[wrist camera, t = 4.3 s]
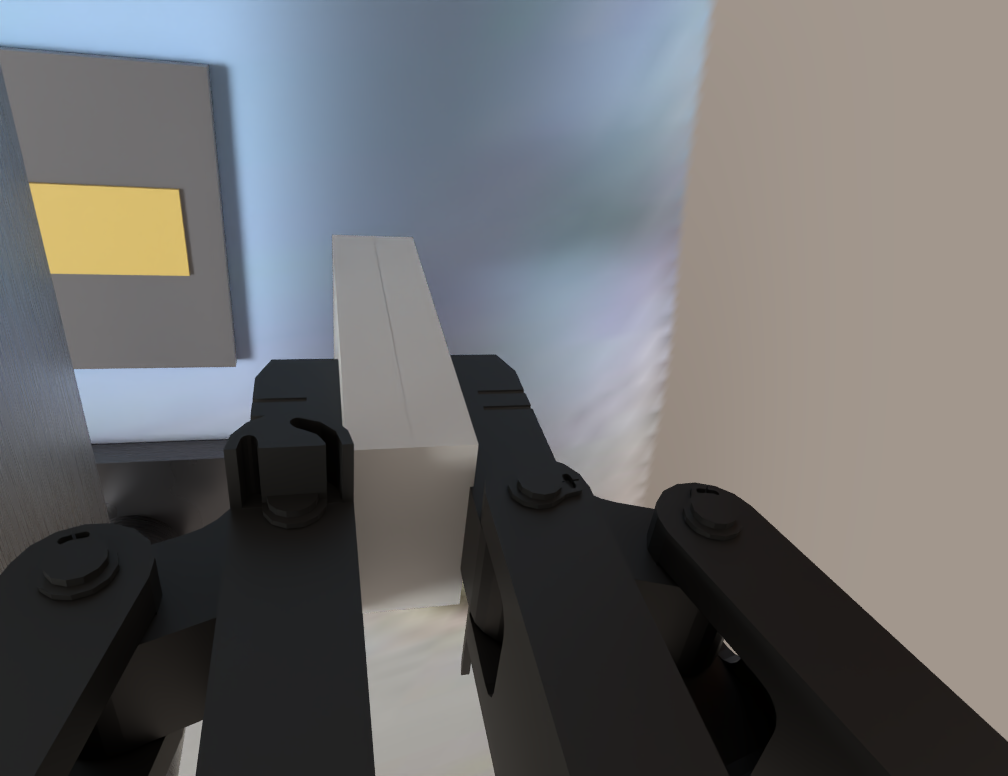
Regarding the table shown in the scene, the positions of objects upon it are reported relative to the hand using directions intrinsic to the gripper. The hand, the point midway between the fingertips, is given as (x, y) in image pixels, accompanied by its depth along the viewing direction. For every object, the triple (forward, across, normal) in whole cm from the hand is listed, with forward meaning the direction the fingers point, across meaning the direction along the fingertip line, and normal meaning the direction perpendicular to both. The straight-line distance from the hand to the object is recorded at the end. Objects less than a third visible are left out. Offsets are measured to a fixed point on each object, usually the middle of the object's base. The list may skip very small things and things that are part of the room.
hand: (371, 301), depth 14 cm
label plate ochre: (+4, -6, 0) cm, 7 cm away
